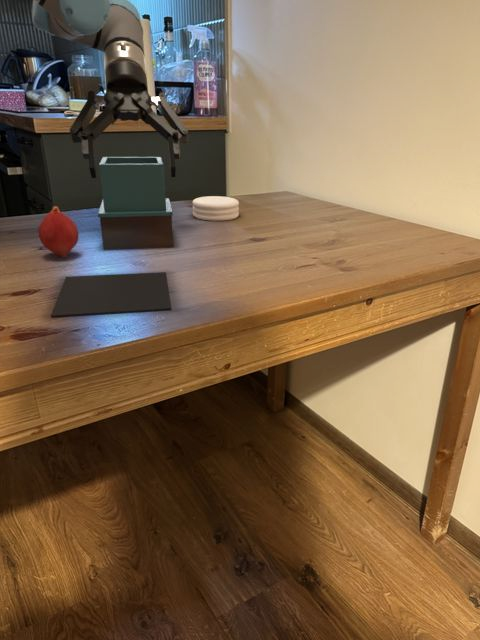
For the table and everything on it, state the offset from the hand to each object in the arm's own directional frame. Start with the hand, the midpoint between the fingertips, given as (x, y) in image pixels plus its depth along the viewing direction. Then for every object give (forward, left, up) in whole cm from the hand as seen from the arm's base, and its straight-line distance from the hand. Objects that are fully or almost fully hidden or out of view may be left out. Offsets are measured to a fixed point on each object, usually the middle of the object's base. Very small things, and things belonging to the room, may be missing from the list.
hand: (133, 172), depth 86 cm
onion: (-3, -16, -12) cm, 20 cm away
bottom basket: (+1, -2, -11) cm, 11 cm away
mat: (+15, -25, -11) cm, 31 cm away
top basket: (+1, -2, -6) cm, 6 cm away
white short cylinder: (+3, +22, -11) cm, 25 cm away
